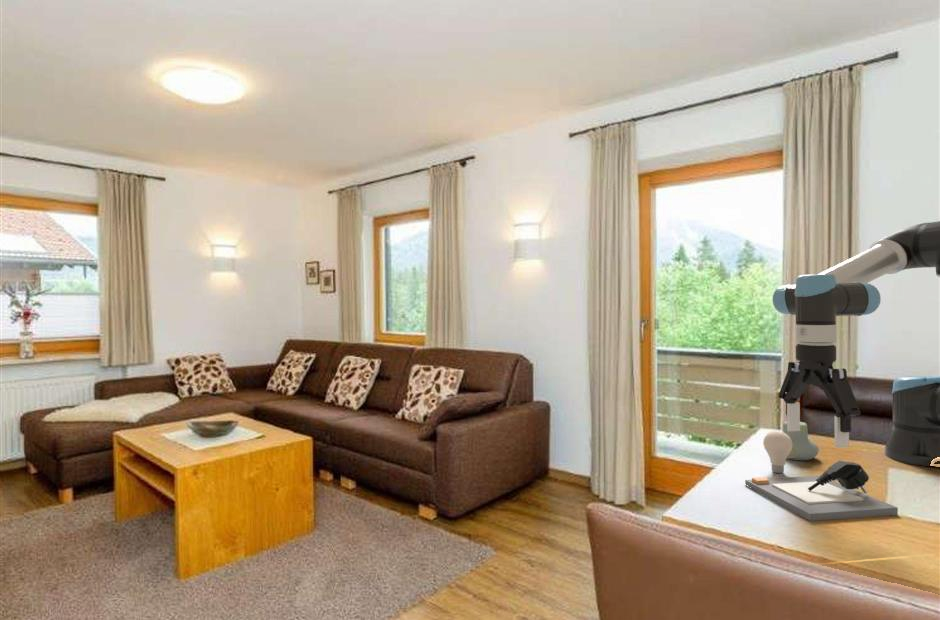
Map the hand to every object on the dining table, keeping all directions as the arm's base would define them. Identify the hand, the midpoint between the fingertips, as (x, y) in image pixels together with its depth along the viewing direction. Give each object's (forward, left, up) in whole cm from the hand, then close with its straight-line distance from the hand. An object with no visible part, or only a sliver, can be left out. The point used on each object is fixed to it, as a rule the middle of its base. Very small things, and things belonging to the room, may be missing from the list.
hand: (816, 438), depth 116 cm
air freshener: (-18, -28, -14) cm, 36 cm away
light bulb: (-4, -17, -14) cm, 22 cm away
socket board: (0, 0, -14) cm, 14 cm away
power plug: (0, 0, -14) cm, 14 cm away
